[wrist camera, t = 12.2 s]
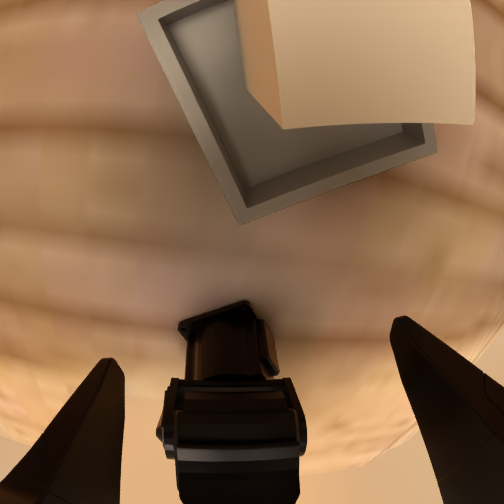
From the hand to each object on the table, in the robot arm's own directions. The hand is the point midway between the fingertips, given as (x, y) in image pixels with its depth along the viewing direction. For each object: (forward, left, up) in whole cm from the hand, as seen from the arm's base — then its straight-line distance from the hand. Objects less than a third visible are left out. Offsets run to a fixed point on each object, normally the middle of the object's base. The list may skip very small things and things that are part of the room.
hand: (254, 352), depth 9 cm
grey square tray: (+6, +5, -13) cm, 15 cm away
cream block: (+6, +7, -12) cm, 15 cm away
